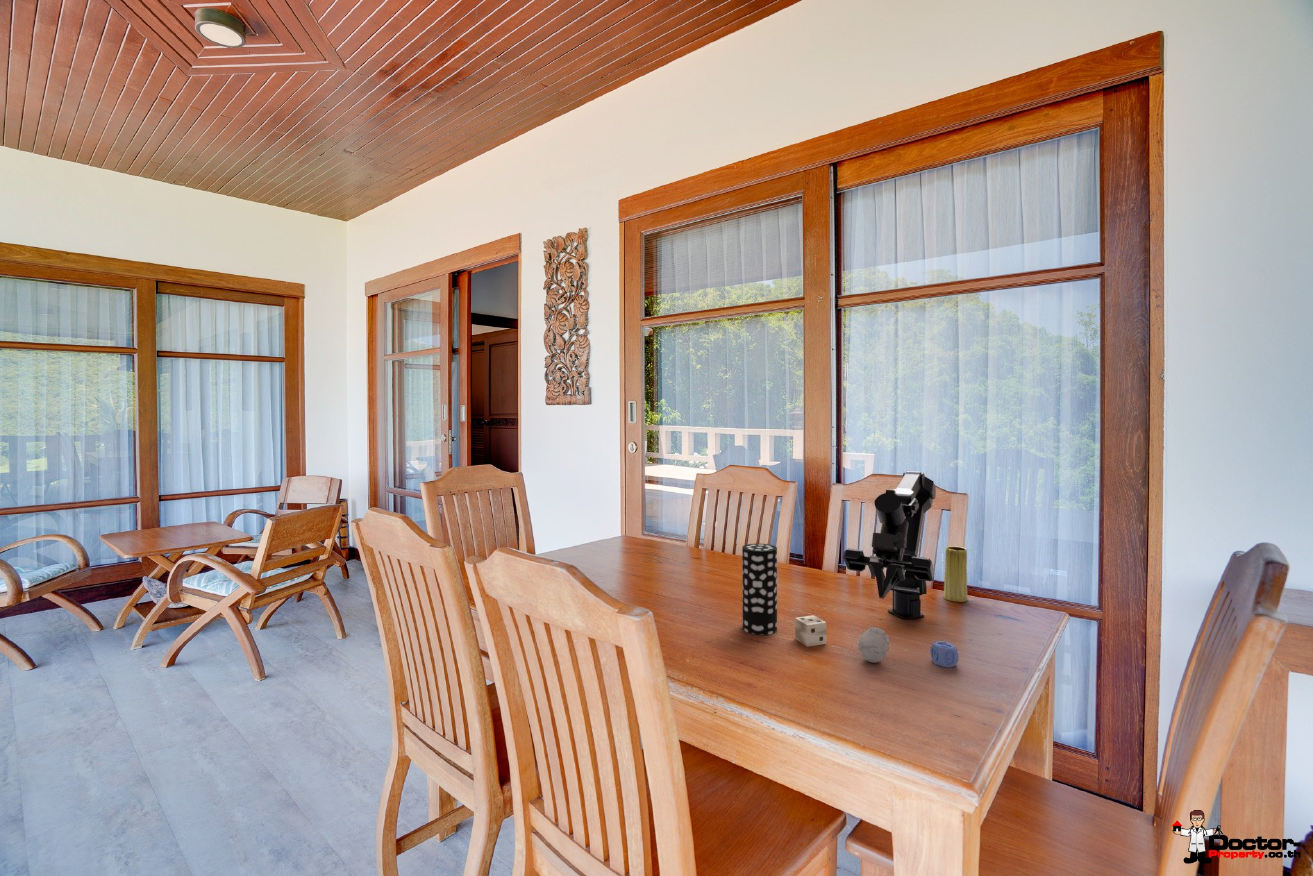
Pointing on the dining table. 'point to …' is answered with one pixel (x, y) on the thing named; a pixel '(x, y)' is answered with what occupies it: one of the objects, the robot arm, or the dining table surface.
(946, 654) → the decorative dice
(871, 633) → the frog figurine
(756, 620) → the white-spotted black cylinder
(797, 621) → the birch pip block
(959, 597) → the vase
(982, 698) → the dining table surface
